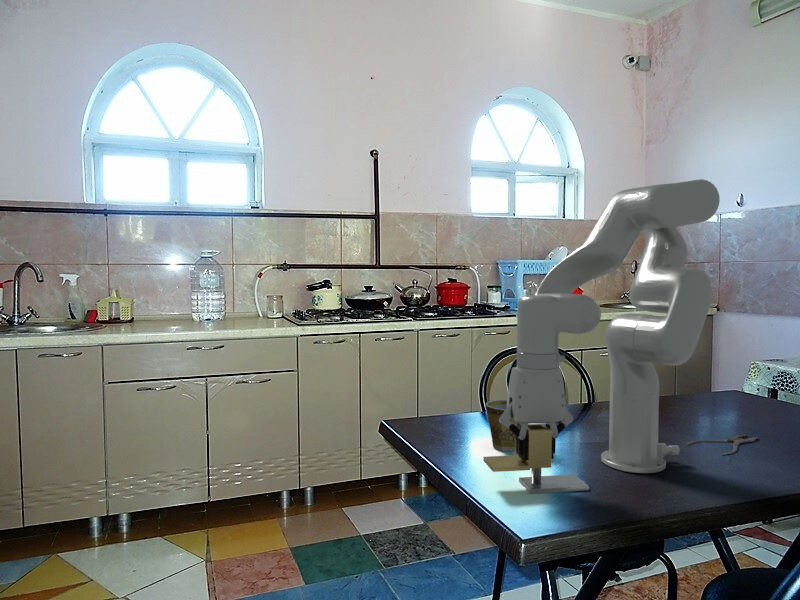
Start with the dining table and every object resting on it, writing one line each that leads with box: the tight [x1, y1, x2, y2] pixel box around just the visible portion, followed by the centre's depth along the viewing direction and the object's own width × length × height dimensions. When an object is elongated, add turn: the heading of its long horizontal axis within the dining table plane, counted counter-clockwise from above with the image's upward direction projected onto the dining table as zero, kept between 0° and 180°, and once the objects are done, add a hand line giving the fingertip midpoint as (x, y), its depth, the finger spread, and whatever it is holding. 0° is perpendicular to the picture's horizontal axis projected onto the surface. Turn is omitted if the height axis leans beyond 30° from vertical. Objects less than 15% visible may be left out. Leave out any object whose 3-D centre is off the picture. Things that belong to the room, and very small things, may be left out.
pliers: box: [685, 433, 759, 456], centre depth 132 cm, size 10×1×20 cm
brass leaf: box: [482, 423, 552, 473], centre depth 105 cm, size 11×6×7 cm, turn 98°
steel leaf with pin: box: [518, 468, 590, 495], centre depth 106 cm, size 11×6×8 cm, turn 98°
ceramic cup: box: [485, 399, 516, 453], centre depth 131 cm, size 13×10×10 cm
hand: (535, 456), depth 105 cm, fingers closed on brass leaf, 4 cm apart
